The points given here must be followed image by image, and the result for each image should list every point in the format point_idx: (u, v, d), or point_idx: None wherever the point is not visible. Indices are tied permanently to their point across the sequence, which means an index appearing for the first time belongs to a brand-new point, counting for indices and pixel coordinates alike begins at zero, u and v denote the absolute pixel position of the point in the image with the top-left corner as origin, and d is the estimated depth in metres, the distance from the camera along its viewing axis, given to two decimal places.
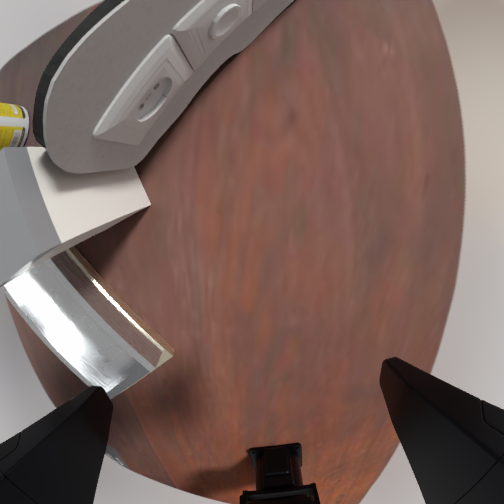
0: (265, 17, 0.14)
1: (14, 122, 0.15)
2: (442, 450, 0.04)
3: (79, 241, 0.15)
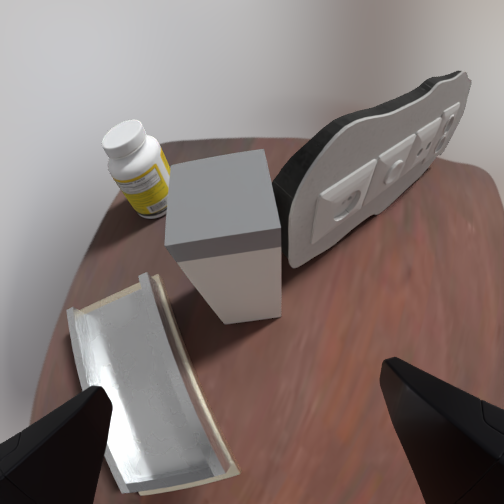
0: (398, 190, 0.24)
1: None
2: (442, 450, 0.04)
3: (224, 301, 0.17)
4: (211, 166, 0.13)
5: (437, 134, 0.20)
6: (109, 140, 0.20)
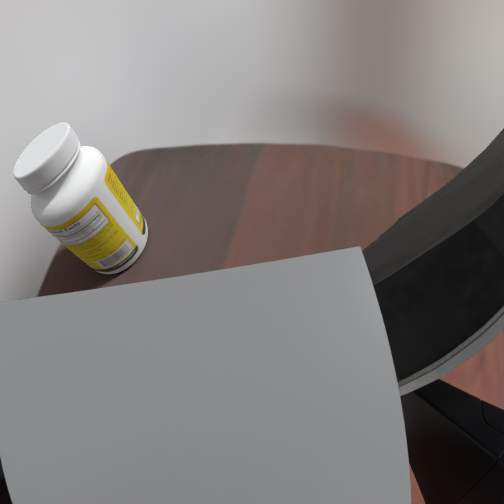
0: None
1: (130, 229, 0.16)
2: (442, 450, 0.04)
3: None
4: (101, 354, 0.02)
5: None
6: (23, 162, 0.10)
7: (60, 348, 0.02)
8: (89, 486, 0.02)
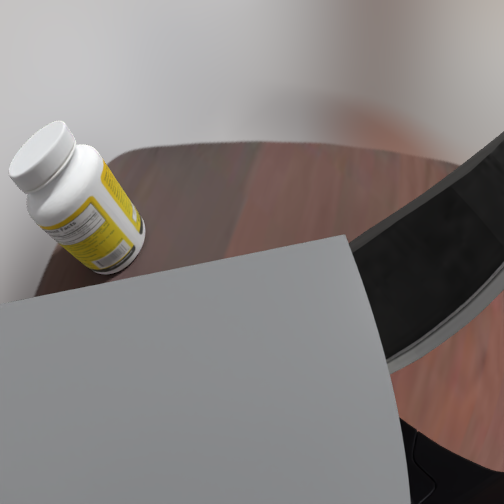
0: None
1: (127, 229, 0.16)
2: None
3: None
4: (70, 360, 0.02)
5: None
6: (18, 160, 0.10)
7: (33, 354, 0.02)
8: (67, 497, 0.01)
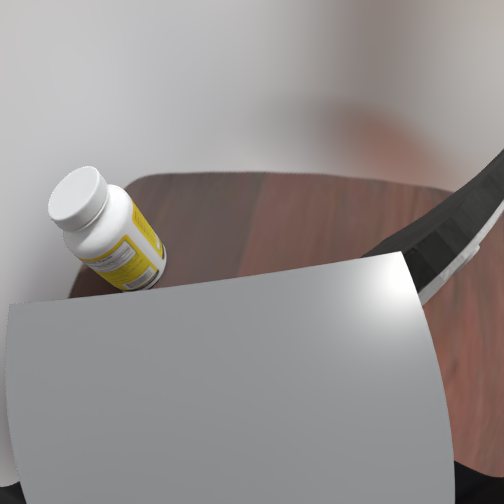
0: None
1: (153, 257, 0.19)
2: None
3: None
4: (160, 363, 0.02)
5: None
6: (56, 203, 0.13)
7: (103, 357, 0.02)
8: None
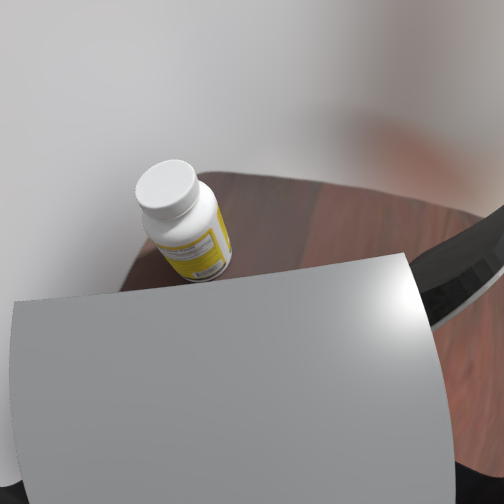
0: None
1: (224, 250, 0.22)
2: None
3: None
4: (168, 359, 0.02)
5: None
6: (146, 191, 0.16)
7: (109, 355, 0.02)
8: None
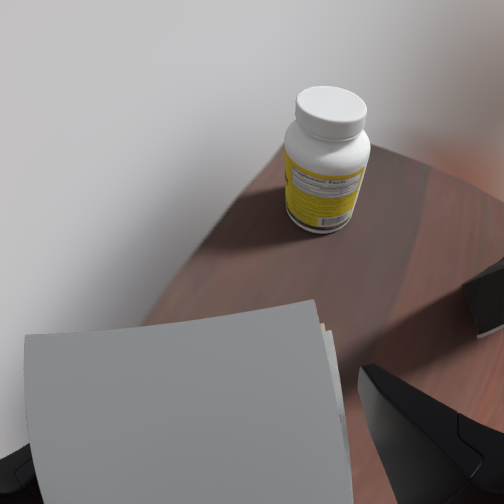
0: None
1: (355, 201, 0.19)
2: (414, 463, 0.04)
3: None
4: (119, 381, 0.03)
5: None
6: (312, 104, 0.13)
7: (85, 375, 0.03)
8: (112, 478, 0.02)
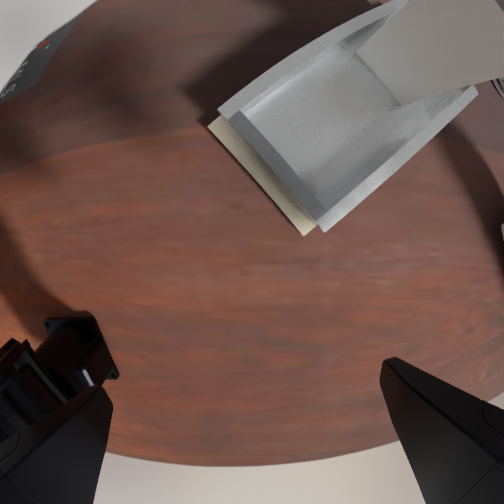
0: None
1: None
2: (442, 450, 0.04)
3: (408, 32, 0.08)
4: None
5: None
6: None
7: None
8: None
